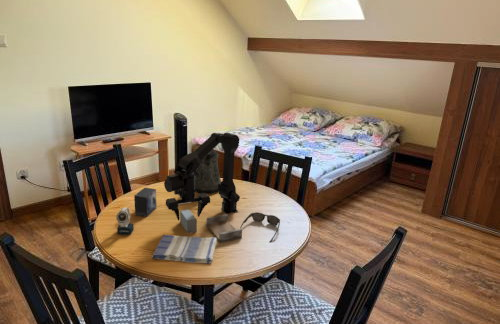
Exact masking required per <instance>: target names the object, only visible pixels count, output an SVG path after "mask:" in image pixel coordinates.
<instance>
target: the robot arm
mask: <svg viewBox="0 0 500 324" xmlns="http://www.w3.org/2000/svg"><path fill="white" fill-rule="evenodd" d="M219 144H221V148H222V150H223V153H224V154H223V168H222V180H221V183H220V184H218V192H217V193H218V195H219V197H220V198H221V199H222V202H221V210H222V211H223V212H224V213H225V214H227V215H229V214H234V213H238V212H239V210H238V209H237V203H238V202H239V201H240V199H241V196H240V195H239V194H238V193H237V189H236V188H237V187H236V185H235V182H234V171H235V169H234V168H235V154H236V152H237V150H238V148H239V144H240V137H239V136H238V135H237V134H234V133H230V132H224V133H218V132H213V133H211V134H210V136H209V137H208V138H207V139H206V140H205V141H204V142H202V144H200V145H199V146H198V147H197V148H196V149H195V150H194V151H193V152H191V153H187V154H185V155H184V156H183V157H181V158H180V159H179V161H178V164H177V165H176V168H174V169H175V170H174V171H173V173H174V174H172V175H171V174H169V175H167V176H166V179H165V180H164V182H163V186H164V189H165V191H166V192H167V193H171V192H172V193H174V195H178V197H179V198H180V199H176V197H171V198H170V197H169V198H167V199H166V200H165V205H166V207H167V209H168V210H170V211H172V212H174V214H175V217H176V219H177V221H179V222H180V208H179V205H184V204H190V203H197V209H196V210H197V214H196V215H197V217H200V216H201V213H202V211H203V210H204V209H205V207H206V206H207V205H208V204H211V197H210V196H209V194H206V193H198V194H197V196H196V193H197V192H196V190H195V176H196V175H199V173H198V172H196V170H197V168H198V167H199V166H200V163H201V160H202V159H203V158H204V157H205V156H206V155H207V154H208V153H210V152H211V151H212V150H214V149H215V148H216V147H217V146H218V145H219Z"/></svg>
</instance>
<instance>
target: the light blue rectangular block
mask: <svg viewBox="0 0 500 324" xmlns="http://www.w3.org/2000/svg"><path fill="white" fill-rule="evenodd" d="M197 220H198V219H197V218H196V217H195V215H194V214H193V212H191V210H190V209H189V208H188V209H181V210H179V223H180V224H181V226H182V227H183V228H184V230H185V231H186V233H187V234H192V233H197V231H198V230H197V229H198V226H197V225H198V223H197V222H198V221H197Z"/></svg>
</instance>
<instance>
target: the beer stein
mask: <svg viewBox="0 0 500 324" xmlns="http://www.w3.org/2000/svg"><path fill="white" fill-rule="evenodd" d="M218 158H219V154H218V152H217V151H216V150H214V149H213V150H212V151H211V152H210V153H208V154H207V155H206V156H205V157H204V158H203V159H202V160H201V163H200V166H199V167H198V168H197V170H196V172H198V173H199V175H196V176H195V190H196V192H195V193H198V194H202V193H206V194H207V195H210V194H217V193H218V184H220V183H221V182H222V180H221V176H220V170H219V163H218V162H219V161H218Z"/></svg>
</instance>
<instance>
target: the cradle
mask: <svg viewBox="0 0 500 324" xmlns="http://www.w3.org/2000/svg"><path fill="white" fill-rule="evenodd" d="M206 227H207V228H208V229H209V230H210V232H211V233H212V234H213V235H214V237H215V238H217V241H219V243H220V244H221V243H225V242H230V241H234V240H239V239H242V237H243V229H242V228H241V229H240V228H238V229H237V228H235V227H234V226H233V224H231V222H230V221H229V214H226V213H225V214H219V215H215V216H209V217H206Z"/></svg>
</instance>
